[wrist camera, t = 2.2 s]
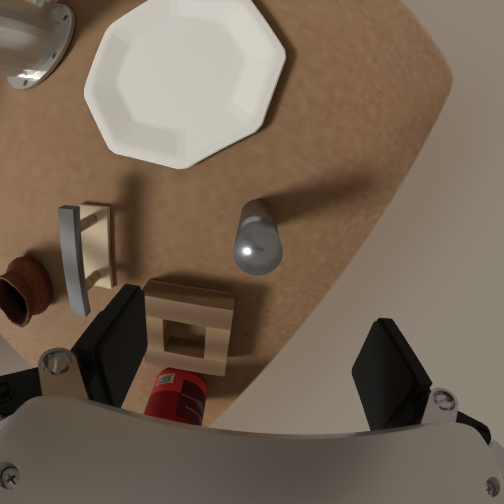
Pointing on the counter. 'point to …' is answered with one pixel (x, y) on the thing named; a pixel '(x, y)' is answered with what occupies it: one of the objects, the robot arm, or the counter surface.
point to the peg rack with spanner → (85, 252)
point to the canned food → (178, 397)
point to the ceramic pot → (24, 290)
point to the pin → (257, 239)
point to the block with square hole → (188, 326)
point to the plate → (183, 79)
